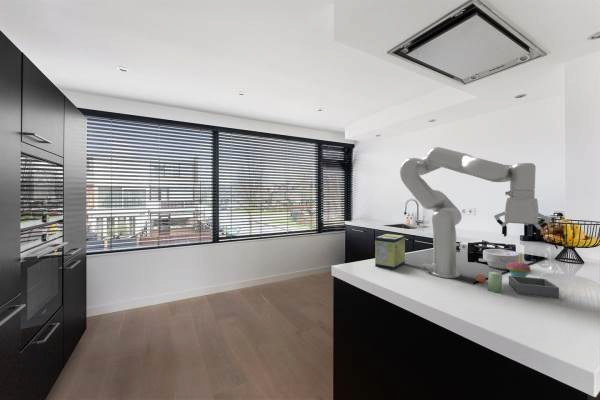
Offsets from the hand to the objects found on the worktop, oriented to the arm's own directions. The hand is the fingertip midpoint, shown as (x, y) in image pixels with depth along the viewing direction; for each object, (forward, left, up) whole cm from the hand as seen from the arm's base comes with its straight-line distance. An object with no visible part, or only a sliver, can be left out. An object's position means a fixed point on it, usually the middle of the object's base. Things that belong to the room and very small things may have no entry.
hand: (520, 237), depth 106 cm
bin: (+4, -1, -21) cm, 21 cm away
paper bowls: (+3, +34, -21) cm, 40 cm away
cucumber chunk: (-9, -5, -21) cm, 23 cm away
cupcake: (+5, +17, -21) cm, 27 cm away
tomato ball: (-12, +4, -21) cm, 24 cm away
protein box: (-50, +19, -21) cm, 58 cm away
